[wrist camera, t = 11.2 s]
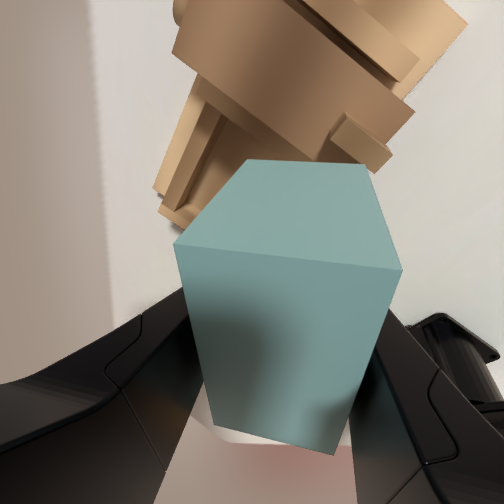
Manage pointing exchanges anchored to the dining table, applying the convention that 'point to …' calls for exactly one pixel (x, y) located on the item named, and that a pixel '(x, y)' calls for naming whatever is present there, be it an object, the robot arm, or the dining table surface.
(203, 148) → the jig
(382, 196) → the dining table surface
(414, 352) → the robot arm
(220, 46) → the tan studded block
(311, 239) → the teal block
